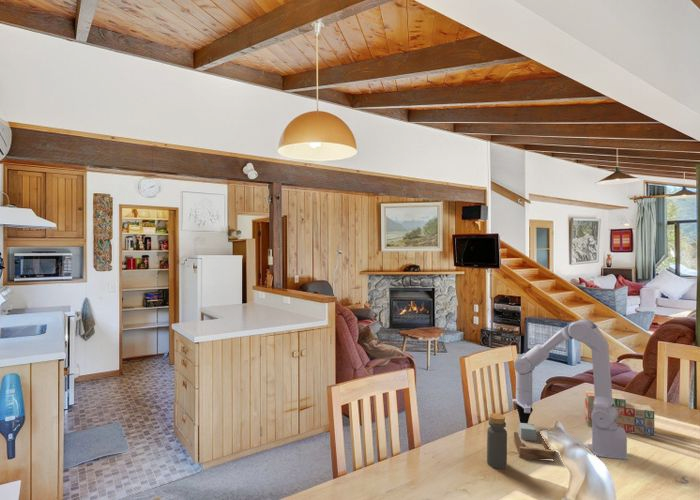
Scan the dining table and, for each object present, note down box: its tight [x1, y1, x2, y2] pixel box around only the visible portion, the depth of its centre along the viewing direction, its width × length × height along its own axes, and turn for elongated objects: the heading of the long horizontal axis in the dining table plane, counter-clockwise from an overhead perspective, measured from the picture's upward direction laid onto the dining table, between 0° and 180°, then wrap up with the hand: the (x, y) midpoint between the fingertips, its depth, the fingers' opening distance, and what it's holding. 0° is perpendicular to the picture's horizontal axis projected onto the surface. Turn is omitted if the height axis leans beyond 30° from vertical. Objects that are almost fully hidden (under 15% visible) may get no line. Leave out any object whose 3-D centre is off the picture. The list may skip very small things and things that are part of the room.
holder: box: [513, 431, 556, 460], centre depth 139 cm, size 10×12×3 cm
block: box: [518, 422, 537, 441], centre depth 150 cm, size 5×5×4 cm
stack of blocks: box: [584, 390, 655, 436], centre depth 158 cm, size 21×6×12 cm, turn 68°
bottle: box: [486, 412, 508, 470], centre depth 130 cm, size 6×6×15 cm
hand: (523, 425), depth 157 cm, fingers closed
